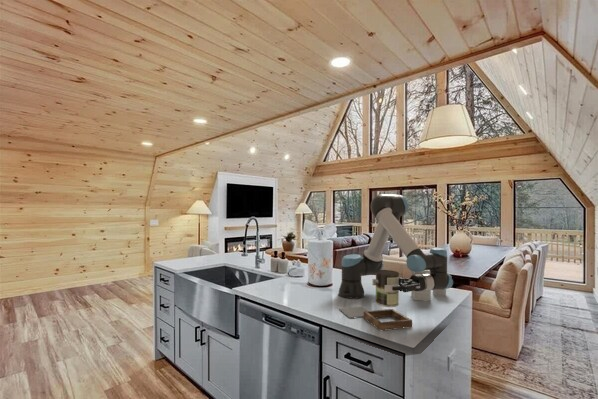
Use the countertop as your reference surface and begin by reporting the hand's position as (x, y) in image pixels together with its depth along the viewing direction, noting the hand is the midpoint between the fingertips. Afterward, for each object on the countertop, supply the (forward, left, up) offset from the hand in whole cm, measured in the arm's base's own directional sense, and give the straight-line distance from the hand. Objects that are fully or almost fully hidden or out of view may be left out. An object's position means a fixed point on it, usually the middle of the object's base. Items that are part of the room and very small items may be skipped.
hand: (378, 285), depth 137 cm
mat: (-15, -4, -17) cm, 23 cm away
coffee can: (0, +4, -9) cm, 10 cm away
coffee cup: (-32, +59, -17) cm, 70 cm away
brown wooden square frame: (0, +4, -17) cm, 18 cm away
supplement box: (-28, +43, -17) cm, 54 cm away
